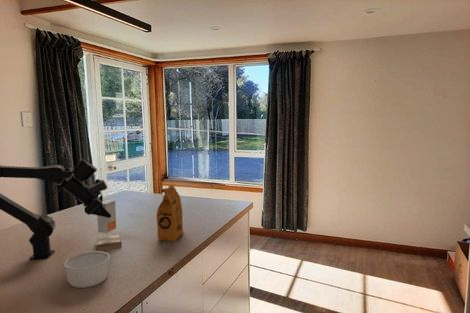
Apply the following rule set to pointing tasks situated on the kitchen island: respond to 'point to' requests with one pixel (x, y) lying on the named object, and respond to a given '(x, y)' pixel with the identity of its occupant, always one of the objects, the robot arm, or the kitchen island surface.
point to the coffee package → (170, 215)
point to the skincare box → (105, 222)
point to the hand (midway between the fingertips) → (110, 214)
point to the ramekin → (87, 268)
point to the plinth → (108, 242)
